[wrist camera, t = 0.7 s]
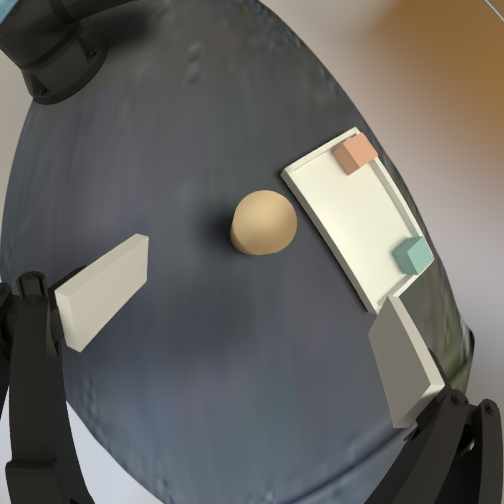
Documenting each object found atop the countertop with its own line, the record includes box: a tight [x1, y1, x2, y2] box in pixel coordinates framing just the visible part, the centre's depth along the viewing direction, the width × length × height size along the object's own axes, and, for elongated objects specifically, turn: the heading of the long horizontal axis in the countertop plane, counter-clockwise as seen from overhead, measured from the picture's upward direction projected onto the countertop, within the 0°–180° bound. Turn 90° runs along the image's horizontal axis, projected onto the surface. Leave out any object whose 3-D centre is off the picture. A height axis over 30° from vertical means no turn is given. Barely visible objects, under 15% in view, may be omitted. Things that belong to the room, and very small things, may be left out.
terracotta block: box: [332, 132, 379, 176], centre depth 31 cm, size 4×4×4 cm
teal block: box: [392, 236, 434, 275], centre depth 32 cm, size 4×4×4 cm
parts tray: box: [280, 127, 434, 315], centre depth 33 cm, size 21×12×2 cm, turn 35°
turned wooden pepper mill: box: [230, 190, 297, 255], centre depth 27 cm, size 5×5×11 cm
